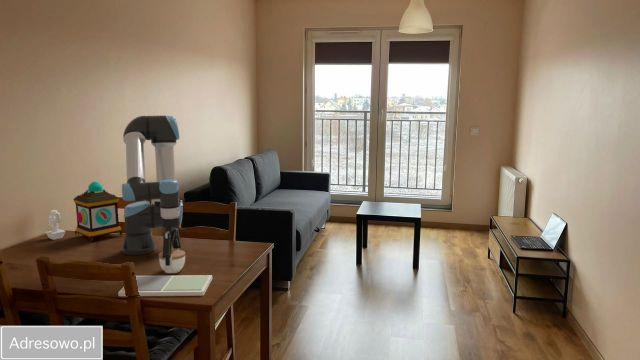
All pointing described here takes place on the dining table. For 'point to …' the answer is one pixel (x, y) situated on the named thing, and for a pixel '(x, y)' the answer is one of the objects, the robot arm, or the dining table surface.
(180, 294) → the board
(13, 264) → the dining table surface
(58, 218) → the figurine
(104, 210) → the decorative lantern
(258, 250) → the dining table surface
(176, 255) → the lidded jar
